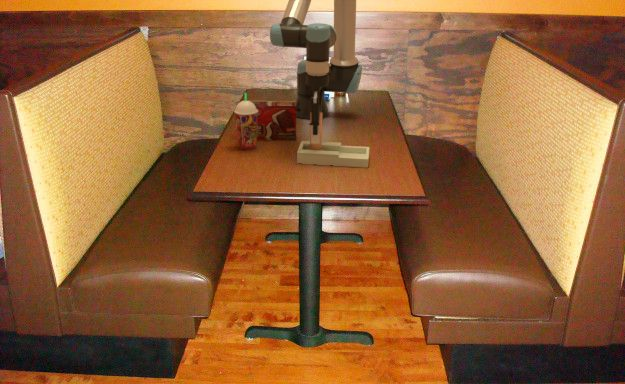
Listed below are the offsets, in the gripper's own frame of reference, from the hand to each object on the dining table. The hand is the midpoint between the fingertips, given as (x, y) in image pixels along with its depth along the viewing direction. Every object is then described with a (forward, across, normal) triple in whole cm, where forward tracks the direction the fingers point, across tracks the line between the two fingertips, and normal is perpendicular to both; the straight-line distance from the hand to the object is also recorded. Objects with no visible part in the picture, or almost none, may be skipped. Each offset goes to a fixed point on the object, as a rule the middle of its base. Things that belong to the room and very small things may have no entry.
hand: (315, 140), depth 200 cm
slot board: (+6, 0, -6) cm, 9 cm away
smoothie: (+7, +7, +26) cm, 27 cm away
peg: (+5, 0, 0) cm, 5 cm away
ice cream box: (+7, +19, +20) cm, 28 cm away
